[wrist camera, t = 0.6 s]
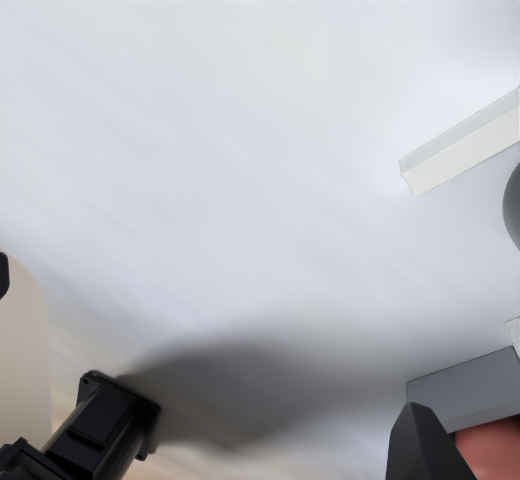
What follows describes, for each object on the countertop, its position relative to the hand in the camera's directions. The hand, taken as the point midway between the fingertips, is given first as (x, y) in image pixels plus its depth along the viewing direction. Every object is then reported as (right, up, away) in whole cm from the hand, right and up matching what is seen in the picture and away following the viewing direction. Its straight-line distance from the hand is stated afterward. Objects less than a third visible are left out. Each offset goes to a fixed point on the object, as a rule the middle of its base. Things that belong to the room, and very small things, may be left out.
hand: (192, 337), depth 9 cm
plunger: (+14, -8, +14) cm, 21 cm away
